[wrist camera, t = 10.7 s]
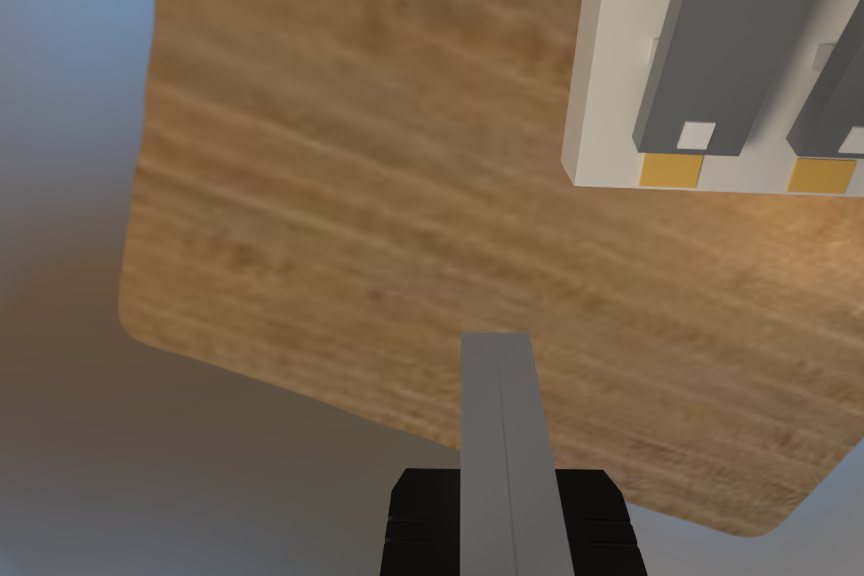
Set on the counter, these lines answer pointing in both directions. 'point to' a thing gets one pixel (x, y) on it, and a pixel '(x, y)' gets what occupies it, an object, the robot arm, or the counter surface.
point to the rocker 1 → (712, 74)
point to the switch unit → (626, 168)
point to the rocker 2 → (836, 101)
